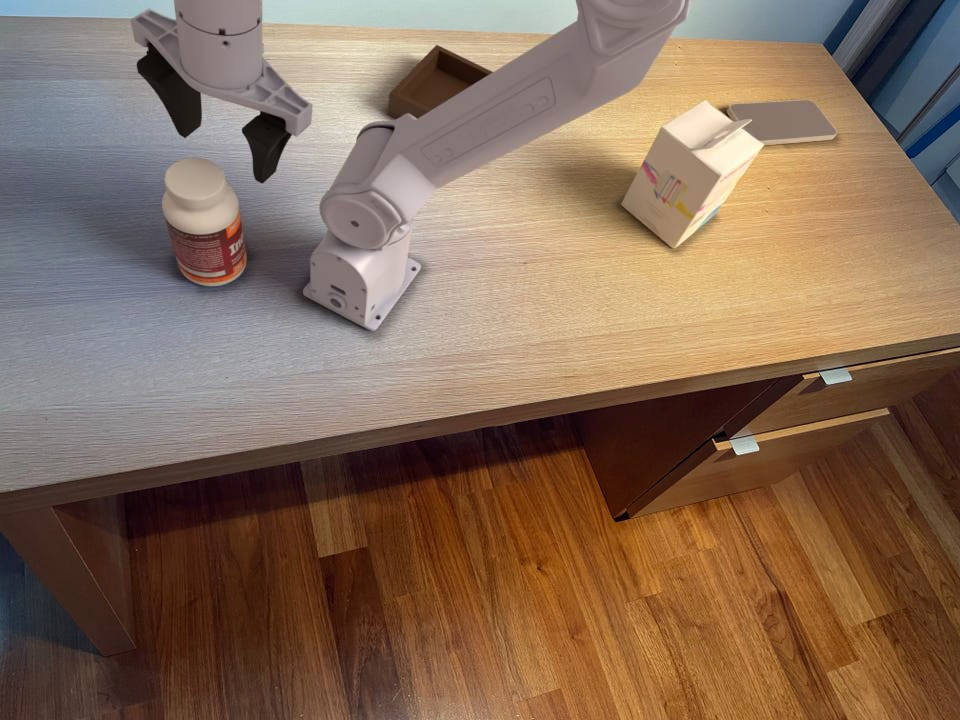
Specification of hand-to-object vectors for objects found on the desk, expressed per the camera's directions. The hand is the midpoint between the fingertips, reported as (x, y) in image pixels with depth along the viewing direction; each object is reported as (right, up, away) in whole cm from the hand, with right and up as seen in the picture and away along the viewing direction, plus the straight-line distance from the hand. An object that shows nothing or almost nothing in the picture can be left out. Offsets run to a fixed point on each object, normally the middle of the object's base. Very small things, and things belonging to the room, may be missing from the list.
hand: (227, 152), depth 58 cm
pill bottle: (-4, -9, +7) cm, 12 cm away
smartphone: (+63, +14, +35) cm, 74 cm away
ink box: (+44, 0, +22) cm, 49 cm away
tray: (+19, +12, +24) cm, 33 cm away
